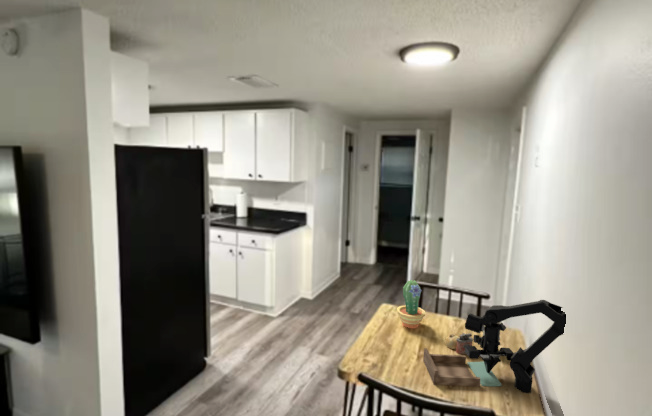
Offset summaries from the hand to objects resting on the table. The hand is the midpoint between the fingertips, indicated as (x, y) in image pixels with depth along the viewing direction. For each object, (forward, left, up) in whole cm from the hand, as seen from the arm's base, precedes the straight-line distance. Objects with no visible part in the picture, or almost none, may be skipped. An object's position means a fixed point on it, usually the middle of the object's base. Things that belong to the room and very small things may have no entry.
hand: (487, 372), depth 150 cm
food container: (+21, -10, -3) cm, 24 cm away
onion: (+23, +7, -3) cm, 24 cm away
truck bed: (0, +16, -2) cm, 16 cm away
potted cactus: (+47, +23, -2) cm, 52 cm away
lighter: (+18, +4, -2) cm, 18 cm away
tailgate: (0, +6, -1) cm, 6 cm away
